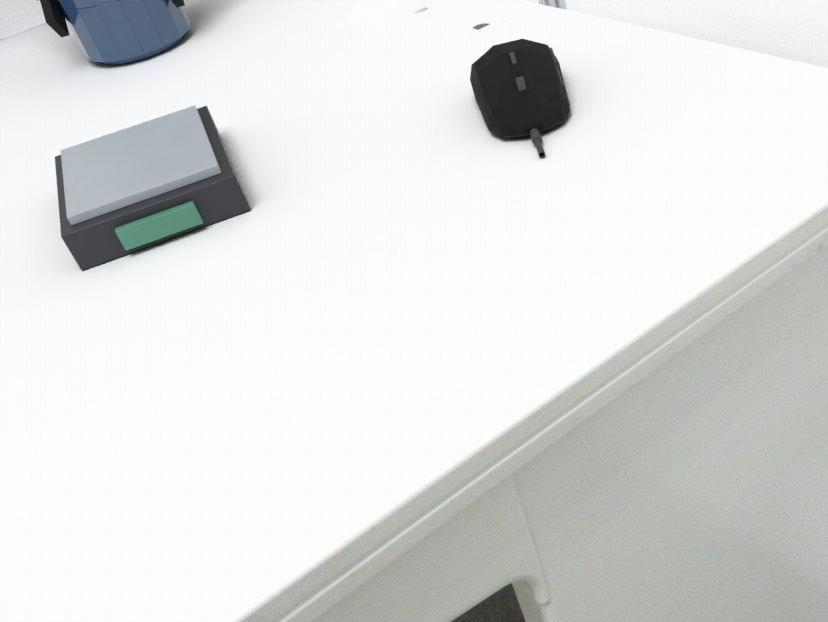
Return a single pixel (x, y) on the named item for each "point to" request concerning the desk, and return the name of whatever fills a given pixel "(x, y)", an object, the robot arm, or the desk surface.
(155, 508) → the desk surface
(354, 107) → the desk surface
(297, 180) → the desk surface
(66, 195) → the scale
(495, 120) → the gaming mouse
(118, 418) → the desk surface
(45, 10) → the robot arm
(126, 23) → the blue faceted tumbler
